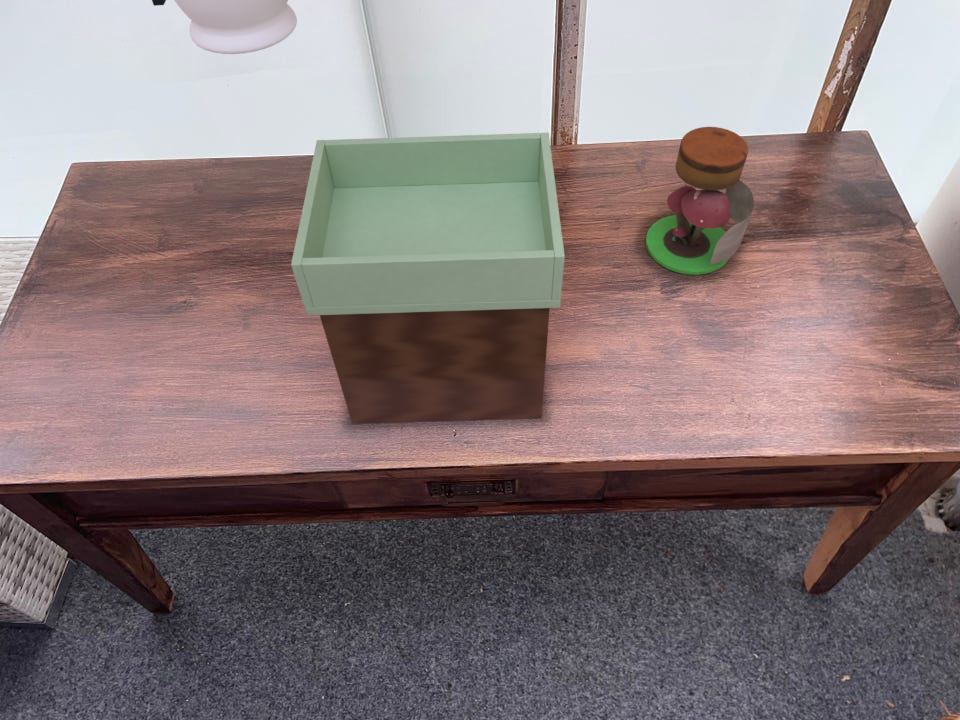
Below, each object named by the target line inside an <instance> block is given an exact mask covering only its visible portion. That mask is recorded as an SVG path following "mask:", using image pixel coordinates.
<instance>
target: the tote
mask: <svg viewBox="0 0 960 720" xmlns="http://www.w3.org/2000/svg"><path fill="white" fill-rule="evenodd" d="M550 139H551V138H550V133H549V132H527V133H525V132H524V133H498V134H496V133H495V134H493V133H492V134H467V135H438V136H437V135H436V136H409V137H408V136H407V137H378V138H377V137H376V138H347V139H344V138H343V139H317V140H316V142H315V147H314V152H313V157H312V162H311V168H310V170H309V177H308V180H307V186H306V191H305V196H304V201H303V205H302V211H301V215H300V220H299V225H298V230H297V235H296V239H295V244H294V249H293V253H292V258H291V263H290V266H291V270H292V272H293V275H294V276H293V277H294V279H295V282H296V285H297V289H298V292H299V294H300V298H301V301H302V304H303V307H304V309H305V314H306V316H320V315H340V314H373V313H405V312H437V311H469V310H502V309H534V308H550V309H557V308H558V309H560V308H561V302H562V292H563V282H564V269H565V268H564V267H565V258H566V254H565V247H564V241H563V231H562V224H561V218H560V217H561V216H560V209H559V201H558V194H557V193H558V192H557V186H556V178H555V171H554V163H553V155H552V148H551V147H552V146H551V140H550Z"/></svg>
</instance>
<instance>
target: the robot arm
mask: <svg viewBox="0 0 960 720" xmlns="http://www.w3.org/2000/svg"><path fill="white" fill-rule="evenodd" d="M151 1H152V5H153V6H164V5H165V4H166V1H167V0H151Z"/></svg>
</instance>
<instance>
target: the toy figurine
mask: <svg viewBox="0 0 960 720" xmlns="http://www.w3.org/2000/svg"><path fill="white" fill-rule="evenodd" d="M748 154H749V146H748V144H747V142H746V141H745V139H744V138H743V137H742V136H740V135H739V134H737V133H736V132H735V131H732V130H729V129H727V128H723V127H718V126H701V127H697V128H694V129H692V130H689V131H688V132H687V133H685V134H684V135H683V137H682V138H681V141H680V144H679V148H678V153H677V157H676V162H675V173H676V174H677V176H678V178H679V179H681V180H682V182H684V183H686V184H687V185H683V186H681V187H678V188H676V189H675V190H674V191H672V192H671V193H670V194H669V195H668V196H667V198H666V204H667V207H668V209H670V211H672V212H673V213H675V214H673V215H668V216H665V217H662V218H660V219H658V220H657V221H655V222H654V223H653V224H652V225H651V226H650V227H649V228H648V231H647V233H646V235H645V247H646V250H647V253H648V254H649V256H650V257H651V258H652V259H653V260H654V261H655V262H656V263H657V264H659V265H660V266H662V267H663V268H665V269H667V270H670V271H672V272H674V273H678V274H683V275H690V276H691V275H692V276H695V275H696V276H697V275H699V276H701V275H706V274H710V273H713V272H715V271H717V270H719V269H721V268H723V267H724V266H725V265H726V264H727V263H728V261H729V260H730V258H731V257H733V256H734V254H735V253H736V252H737V251H738V250H739V248H740V246H741V244H742V241H743V239H744V236H745V233H746V230H747V228H748V226H749V224H750V221H751V218H752V217H751V216H752V213H753V210H754V206H755V199H754V195H753V192H752V190H751V189H750V187H749V186H748V185H747V184H746V183H745V182H743V181H742V180H740V179H741V177H742V173H743V171H744V167H745V164H746V162H747V157H748ZM697 189H698V190H697ZM721 190H725V192H723V191H721ZM730 218H731V219H732V220H733V221H734V222H735V224H734V225H731V226H730V227H729V228H728V229H727V230H725V229H724V228H722V227H723V226H725V225H726V224H728V223H729V221H730Z"/></svg>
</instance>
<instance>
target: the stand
mask: <svg viewBox="0 0 960 720" xmlns="http://www.w3.org/2000/svg"><path fill="white" fill-rule="evenodd" d="M550 310H551V308H534V309H502V310H469V311H437V312H405V313H373V314H340V315H319V317H320V321H321V325H322V328H323V331H324V334H325V335H324V336H325V337H326V342H327V344H328V348H329V352H330V354H331V358H332V361H333V364H334V368H335V371H336V375H337V379H338V381H339V384H340V388H341V391H342V394H343V397H344V401H345V405H346V407H347V408H346V409H347V411H348V414H349V419H350V421H351V424H352V425H361V424H392V423H393V424H395V423H396V424H397V423H426V422H427V423H429V422H460V421H461V422H462V421H490V420H491V421H494V420H496V421H497V420H498V421H499V420H528V419H530V420H531V419H542V418H543V404H544V390H545V379H546V377H545V376H546V364H547V363H546V362H547V350H548V338H549V337H548V336H549V321H550Z"/></svg>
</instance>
